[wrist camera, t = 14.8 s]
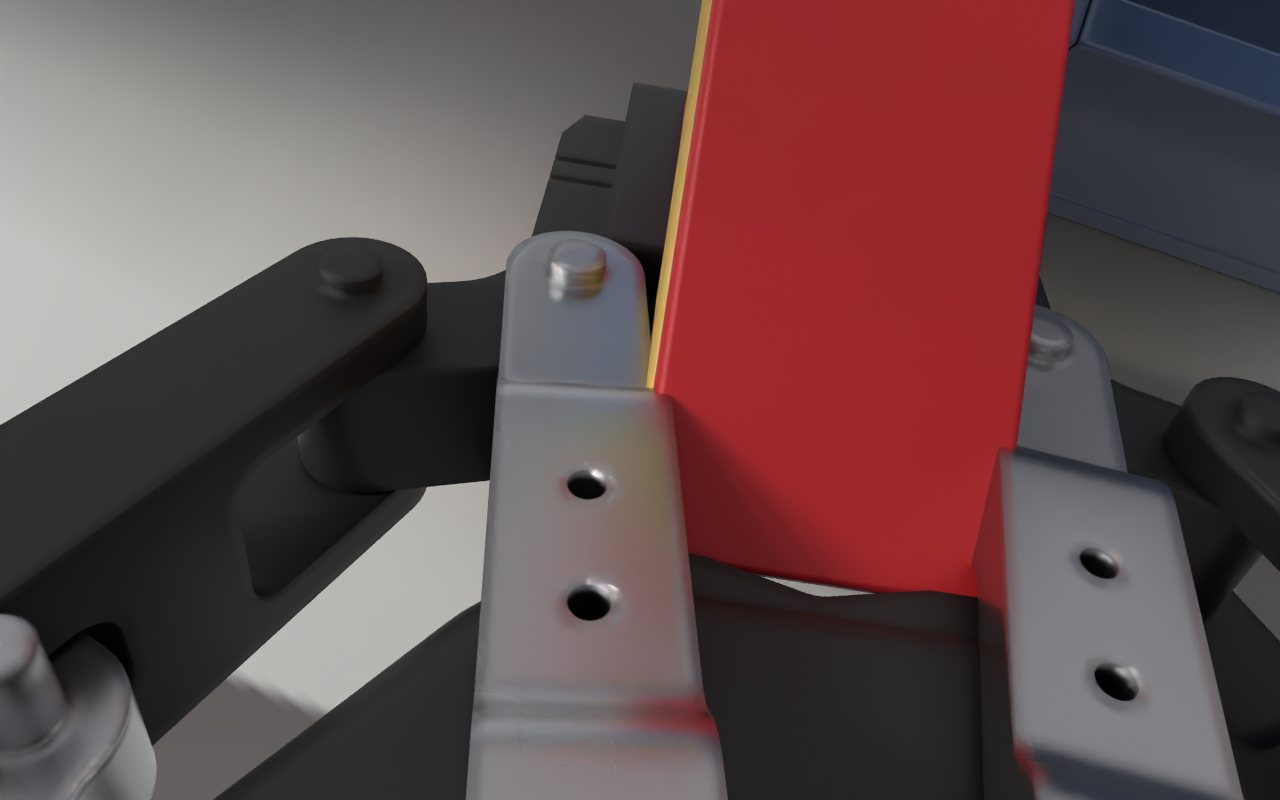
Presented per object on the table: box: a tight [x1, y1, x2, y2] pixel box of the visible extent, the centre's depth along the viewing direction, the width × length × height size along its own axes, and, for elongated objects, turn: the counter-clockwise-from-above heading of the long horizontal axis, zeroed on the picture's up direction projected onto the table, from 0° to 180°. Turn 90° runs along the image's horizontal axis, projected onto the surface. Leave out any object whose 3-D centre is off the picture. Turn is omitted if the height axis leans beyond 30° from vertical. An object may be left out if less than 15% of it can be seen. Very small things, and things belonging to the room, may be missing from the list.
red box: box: [646, 0, 1075, 597], centre depth 12 cm, size 3×5×10 cm, turn 171°
